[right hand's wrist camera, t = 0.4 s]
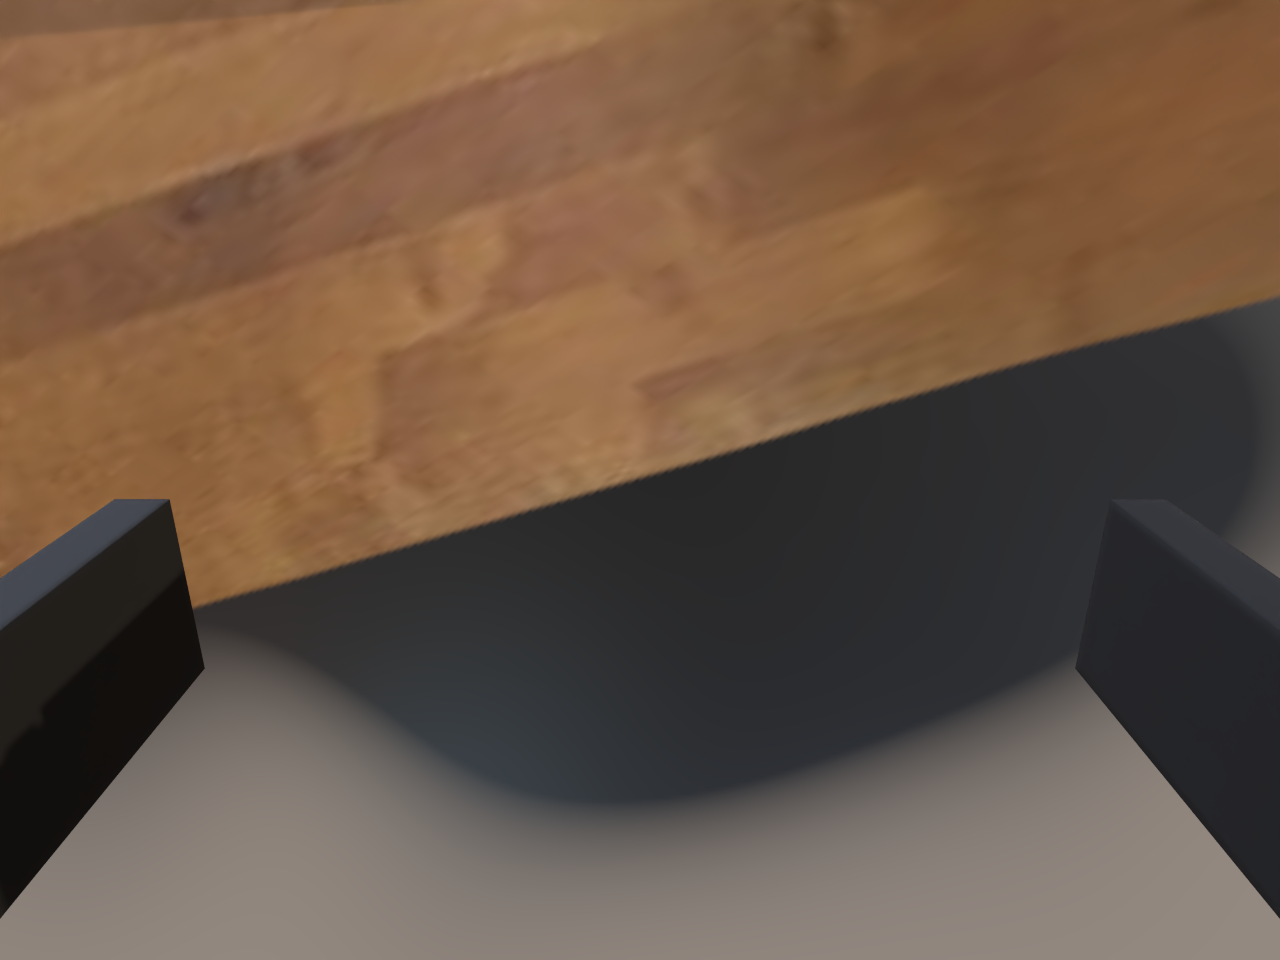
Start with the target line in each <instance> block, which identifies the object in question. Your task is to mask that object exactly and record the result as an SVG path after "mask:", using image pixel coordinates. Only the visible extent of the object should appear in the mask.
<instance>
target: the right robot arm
mask: <svg viewBox="0 0 1280 960" xmlns="http://www.w3.org/2000/svg"><path fill="white" fill-rule="evenodd" d="M203 670H204V663H203V658H202V653H201V648H200V644H199V639H198V634H197V629H196V624H195V620H194V615H193V610H192V605H191V600H190V596H189V591H188V586H187V581H186V576H185V571H184V567H183V562H182V557H181V552H180V547H179V543H178V538H177V533H176V528H175V523H174V519H173V514H172V509H171V504H170V499H114V500H113V501H111V502H110V503H109V504H107V505H106V506H104V507H103V508H101V509H100V510H98V511H97V512H96V513H94V514H93V515H91V516H90V517H88V518H87V519H85V520H84V521H83V522H81V523H80V524H78V525H77V526H75V527H74V528H72V529H71V530H70V531H68V532H67V533H65V534H64V535H62V536H61V537H59V538H58V539H57V540H55V541H54V542H52V543H51V544H49V545H48V546H46V547H45V548H44V549H42V550H41V551H39V552H38V553H36V554H35V555H33V556H32V557H31V558H29V559H28V560H26V561H25V562H23V563H22V564H20V565H19V566H18V567H16V568H15V569H13V570H12V571H10V572H9V573H7V574H6V575H5V576H3V577H2V578H0V918H1V917H2V916H3V915H4V913H5V912H6V911H7V910H8V908H9V907H10V906H11V905H12V903H13V902H14V901H15V900H16V899H17V897H18V896H19V895H20V894H21V892H22V891H23V890H24V889H25V888H26V886H27V885H28V884H29V883H30V881H31V880H32V879H33V878H34V877H35V875H36V874H37V873H38V872H39V870H40V869H41V868H42V867H43V866H44V864H45V863H46V862H47V861H48V859H49V858H50V857H51V856H52V855H53V853H54V852H55V851H56V850H57V848H58V847H59V846H60V845H61V844H62V842H63V841H64V840H65V839H66V837H67V836H68V835H69V834H70V833H71V831H72V830H73V829H74V828H75V826H76V825H77V824H78V823H79V821H80V820H81V819H82V818H83V817H84V815H85V814H86V813H87V812H88V810H89V809H90V808H91V807H92V806H93V804H94V803H95V802H96V801H97V799H98V798H99V797H100V796H101V795H102V793H103V792H104V791H105V790H106V788H107V787H108V786H109V785H110V784H111V782H112V781H113V780H114V779H115V777H116V776H117V775H118V774H119V773H120V771H121V770H122V769H123V768H124V766H125V765H126V764H127V763H128V762H129V760H130V759H131V758H132V757H133V755H134V754H135V753H136V752H137V751H138V749H139V748H140V747H141V746H142V744H143V743H144V742H145V741H146V740H147V738H148V737H149V736H150V735H151V733H152V732H153V731H154V730H155V728H156V727H157V726H158V725H159V724H160V722H161V721H162V720H163V719H164V718H165V716H166V715H167V714H168V713H169V711H170V710H171V709H172V708H173V706H174V705H175V704H176V703H177V701H178V700H179V699H180V698H181V697H182V695H183V694H184V693H185V692H186V691H187V689H188V688H189V687H190V686H191V684H192V683H193V682H194V681H195V680H196V678H197V677H198V676H199V675H200V673H201V672H202V671H203ZM1076 670H1077V671H1078V672H1079V673H1080V675H1081V676H1082V677H1083V678H1084V679H1085V681H1086V682H1087V683H1088V684H1089V686H1090V687H1091V688H1092V689H1093V691H1094V692H1095V693H1096V694H1097V695H1098V697H1099V698H1100V699H1101V700H1102V702H1103V703H1104V704H1105V705H1106V706H1107V708H1108V709H1109V710H1110V711H1111V713H1112V714H1113V715H1114V716H1115V717H1116V719H1117V720H1118V721H1119V722H1120V724H1121V725H1122V726H1123V727H1124V728H1125V730H1126V731H1127V732H1128V733H1129V735H1130V736H1131V737H1132V738H1133V740H1134V741H1135V742H1136V743H1137V744H1138V746H1139V747H1140V748H1141V749H1142V751H1143V752H1144V753H1145V754H1146V755H1147V757H1148V758H1149V759H1150V760H1151V762H1152V763H1153V764H1154V765H1155V766H1156V768H1157V769H1158V770H1159V771H1160V773H1161V774H1162V775H1163V776H1164V777H1165V779H1166V780H1167V781H1168V782H1169V784H1170V785H1171V786H1172V787H1173V788H1174V790H1175V791H1176V792H1177V793H1178V795H1179V796H1180V797H1181V798H1182V799H1183V801H1184V802H1185V803H1186V804H1187V806H1188V807H1189V808H1190V809H1191V810H1192V812H1193V813H1194V814H1195V815H1196V817H1197V818H1198V819H1199V820H1200V822H1201V823H1202V824H1203V825H1204V826H1205V828H1206V829H1207V830H1208V831H1209V832H1210V834H1211V835H1212V836H1213V837H1214V839H1215V840H1216V841H1217V842H1218V844H1219V845H1220V846H1221V847H1222V848H1223V850H1224V851H1225V852H1226V853H1227V855H1228V856H1229V857H1230V858H1231V859H1232V861H1233V862H1234V863H1235V864H1236V866H1237V867H1238V868H1239V869H1240V870H1241V872H1242V873H1243V874H1244V875H1245V877H1246V878H1247V879H1248V880H1249V881H1250V883H1251V884H1252V885H1253V886H1254V888H1255V889H1256V890H1257V891H1258V892H1259V894H1260V895H1261V896H1262V897H1263V899H1264V900H1265V901H1266V902H1267V903H1268V905H1269V906H1270V907H1271V908H1272V910H1273V911H1274V912H1275V913H1276V915H1277V916H1278V917H1279V918H1280V578H1278V577H1277V576H1275V575H1274V574H1273V573H1271V572H1270V571H1268V570H1267V569H1265V568H1264V567H1262V566H1261V565H1260V564H1258V563H1257V562H1255V561H1254V560H1252V559H1251V558H1249V557H1248V556H1246V555H1245V554H1244V553H1242V552H1241V551H1239V550H1238V549H1236V548H1235V547H1233V546H1232V545H1231V544H1229V543H1228V542H1226V541H1225V540H1223V539H1222V538H1221V537H1219V536H1218V535H1216V534H1215V533H1213V532H1212V531H1210V530H1209V529H1208V528H1206V527H1205V526H1203V525H1202V524H1200V523H1199V522H1197V521H1196V520H1195V519H1193V518H1192V517H1190V516H1189V515H1187V514H1186V513H1184V512H1183V511H1182V510H1180V509H1179V508H1177V507H1176V506H1174V505H1173V504H1171V503H1170V502H1169V501H1167V500H1166V499H1111V500H1110V504H1109V509H1108V514H1107V519H1106V523H1105V529H1104V533H1103V538H1102V543H1101V547H1100V552H1099V557H1098V562H1097V567H1096V572H1095V576H1094V581H1093V586H1092V591H1091V596H1090V600H1089V605H1088V610H1087V615H1086V620H1085V624H1084V629H1083V634H1082V639H1081V644H1080V648H1079V653H1078V658H1077V663H1076Z"/></svg>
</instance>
